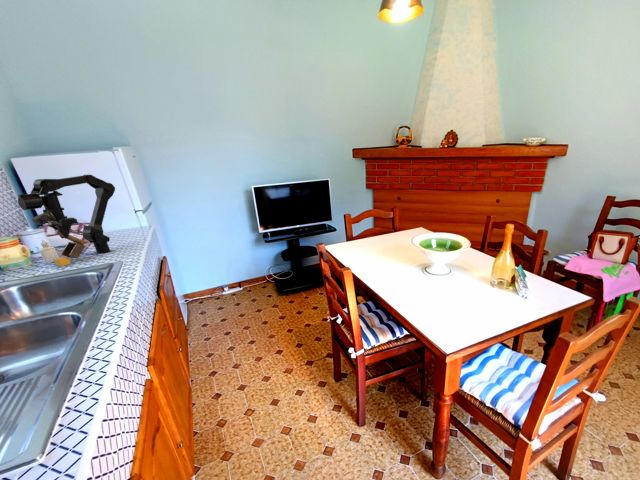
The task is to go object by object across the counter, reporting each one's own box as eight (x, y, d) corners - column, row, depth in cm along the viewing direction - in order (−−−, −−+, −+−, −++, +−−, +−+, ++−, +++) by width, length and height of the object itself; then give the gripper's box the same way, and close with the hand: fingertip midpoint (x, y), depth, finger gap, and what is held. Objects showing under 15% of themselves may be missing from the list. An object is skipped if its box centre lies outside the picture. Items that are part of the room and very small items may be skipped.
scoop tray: (79, 241, 155) (53, 228, 145) (88, 241, 153) (62, 229, 142) (68, 257, 151) (41, 246, 141) (77, 258, 149) (50, 247, 139)
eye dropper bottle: (60, 262, 153) (50, 239, 148) (45, 265, 149) (34, 242, 145) (60, 259, 156) (50, 238, 151) (45, 263, 152) (35, 240, 148)
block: (53, 259, 144) (57, 267, 146) (58, 260, 143) (62, 267, 145) (63, 256, 148) (66, 264, 149) (68, 257, 146) (71, 264, 148)
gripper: (19, 208, 137) (32, 241, 142) (42, 209, 131) (56, 244, 136) (49, 205, 147) (61, 235, 152) (72, 205, 140) (83, 237, 146)
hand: (64, 238), depth 146 cm, fingers closed on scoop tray, 2 cm apart
